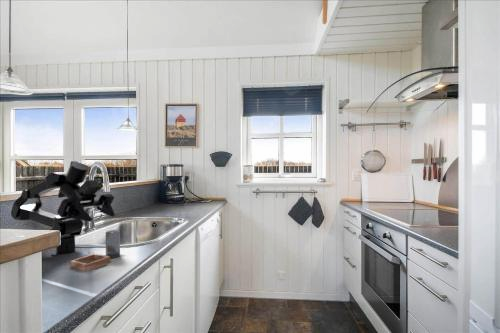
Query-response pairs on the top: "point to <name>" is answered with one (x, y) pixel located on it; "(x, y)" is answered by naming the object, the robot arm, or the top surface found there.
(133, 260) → the top surface
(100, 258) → the wooden board with frame
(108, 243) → the dark grey cylinder
